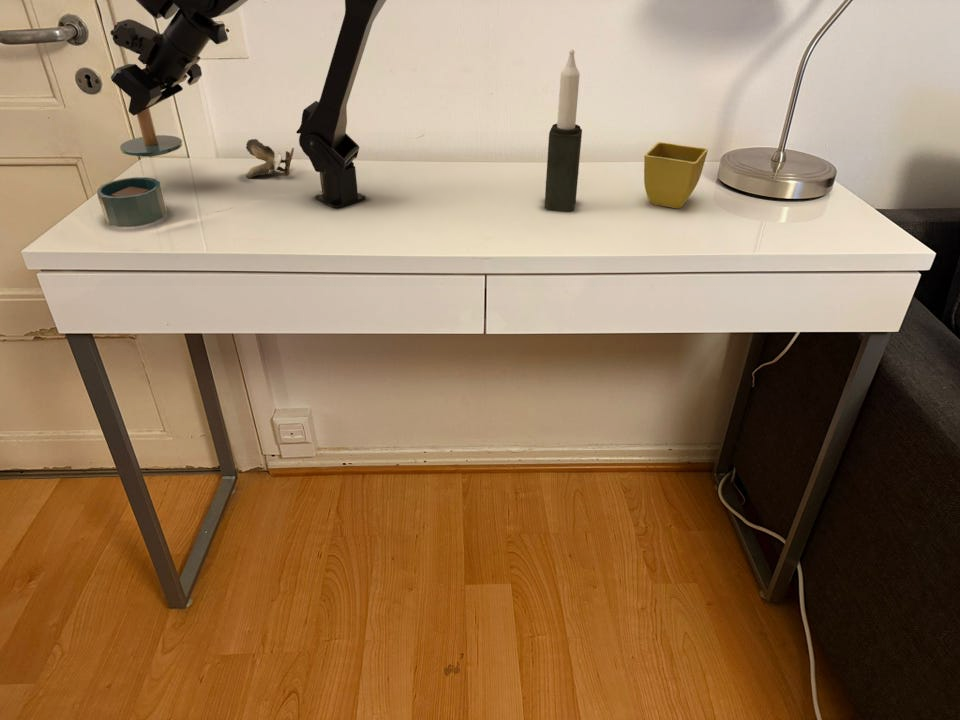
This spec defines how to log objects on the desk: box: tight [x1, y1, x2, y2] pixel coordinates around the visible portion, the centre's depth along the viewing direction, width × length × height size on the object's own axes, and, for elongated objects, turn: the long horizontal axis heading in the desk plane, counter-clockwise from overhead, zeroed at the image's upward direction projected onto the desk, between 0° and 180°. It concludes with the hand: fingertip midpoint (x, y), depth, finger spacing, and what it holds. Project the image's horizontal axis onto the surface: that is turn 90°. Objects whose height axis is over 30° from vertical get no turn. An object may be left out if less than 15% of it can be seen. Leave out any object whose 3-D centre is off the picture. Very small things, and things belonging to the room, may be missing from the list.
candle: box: [544, 48, 583, 213], centre depth 113 cm, size 5×5×25 cm
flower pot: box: [643, 141, 709, 209], centre depth 119 cm, size 9×9×9 cm
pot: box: [96, 176, 168, 228], centre depth 112 cm, size 9×9×5 cm
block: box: [111, 187, 149, 197], centre depth 112 cm, size 4×4×4 cm
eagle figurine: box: [245, 138, 295, 179], centre depth 129 cm, size 8×7×9 cm
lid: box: [119, 108, 184, 158], centre depth 118 cm, size 10×10×11 cm
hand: (135, 111), depth 117 cm, fingers closed on lid, 2 cm apart
